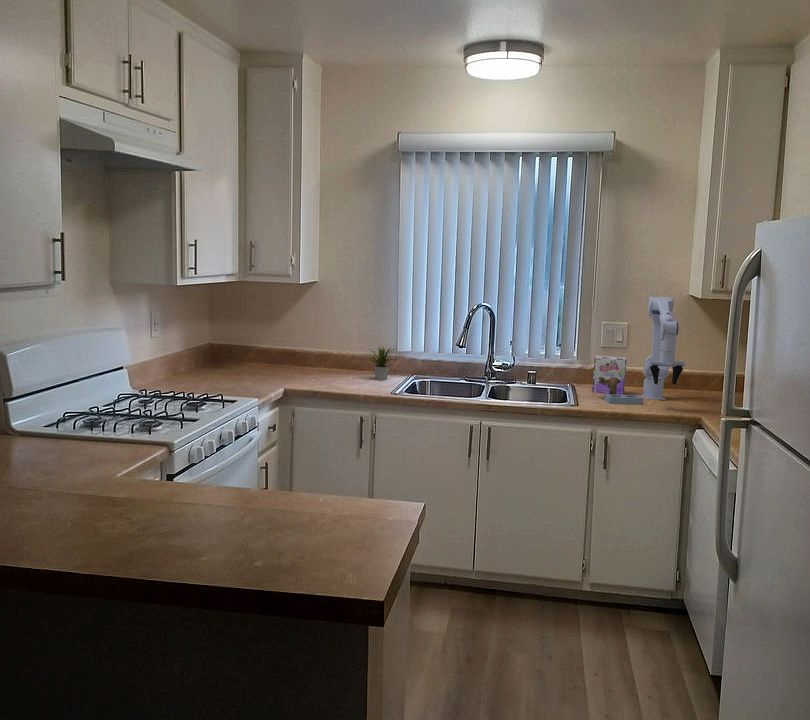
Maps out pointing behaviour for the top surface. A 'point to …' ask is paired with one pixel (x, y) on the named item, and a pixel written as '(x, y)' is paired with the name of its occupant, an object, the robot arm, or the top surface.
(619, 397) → the hole block
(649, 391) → the robot arm
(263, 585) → the top surface
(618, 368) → the candy box
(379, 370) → the house plant
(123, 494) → the top surface
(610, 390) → the dowel
